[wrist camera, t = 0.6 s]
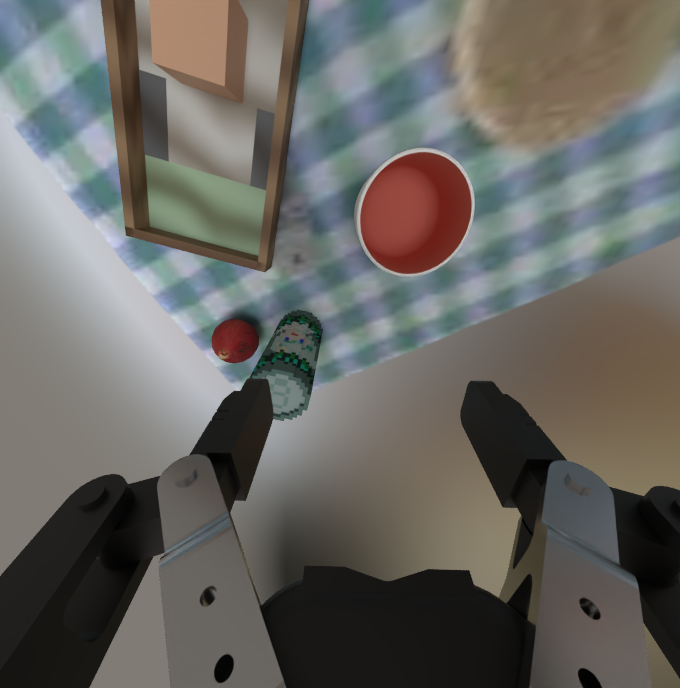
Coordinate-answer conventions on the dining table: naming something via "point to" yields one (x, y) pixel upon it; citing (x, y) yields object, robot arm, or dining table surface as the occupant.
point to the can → (291, 363)
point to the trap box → (204, 136)
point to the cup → (414, 212)
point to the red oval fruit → (235, 341)
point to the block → (201, 44)
